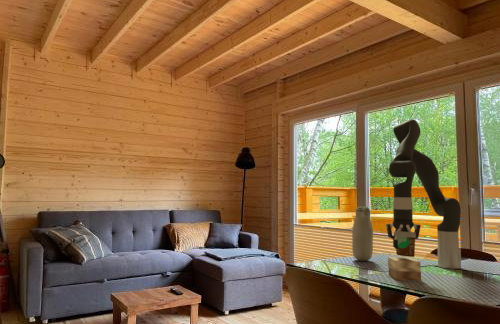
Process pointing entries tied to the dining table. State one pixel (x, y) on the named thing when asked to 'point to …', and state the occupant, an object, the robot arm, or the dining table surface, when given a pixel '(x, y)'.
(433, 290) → the dining table surface
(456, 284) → the dining table surface
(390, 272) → the walnut slab
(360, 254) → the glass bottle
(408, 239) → the food container
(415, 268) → the birch slab
